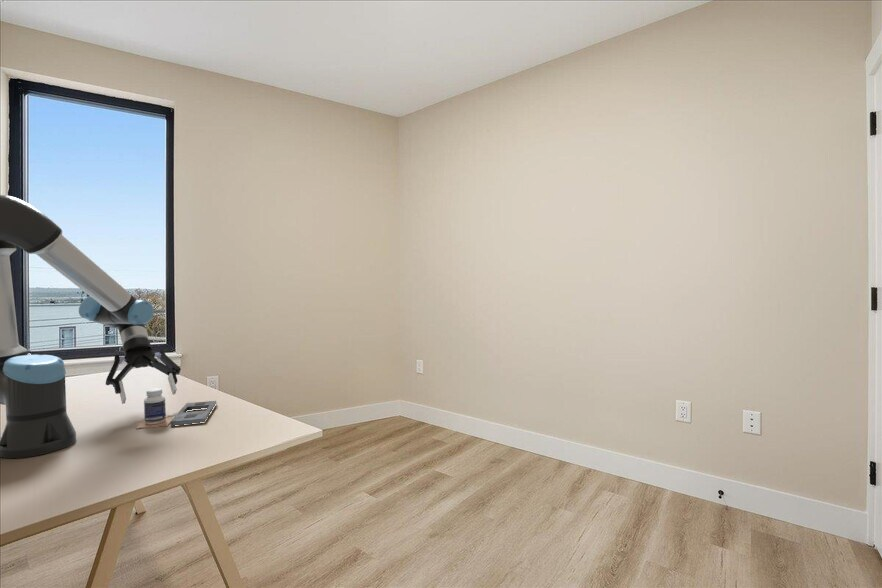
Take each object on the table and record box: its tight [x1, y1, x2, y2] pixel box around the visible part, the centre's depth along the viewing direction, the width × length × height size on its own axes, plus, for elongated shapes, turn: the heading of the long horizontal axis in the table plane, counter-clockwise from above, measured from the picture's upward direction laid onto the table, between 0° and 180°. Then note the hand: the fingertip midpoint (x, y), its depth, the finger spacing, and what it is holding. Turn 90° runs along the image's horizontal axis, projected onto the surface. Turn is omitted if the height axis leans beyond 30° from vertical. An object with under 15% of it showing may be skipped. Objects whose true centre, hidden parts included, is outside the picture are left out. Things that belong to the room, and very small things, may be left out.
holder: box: [169, 400, 217, 427], centre depth 144 cm, size 20×9×2 cm, turn 17°
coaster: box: [135, 416, 175, 430], centre depth 137 cm, size 8×8×1 cm
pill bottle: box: [143, 387, 167, 425], centre depth 136 cm, size 5×5×10 cm
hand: (150, 396), depth 142 cm, fingers open, 13 cm apart
